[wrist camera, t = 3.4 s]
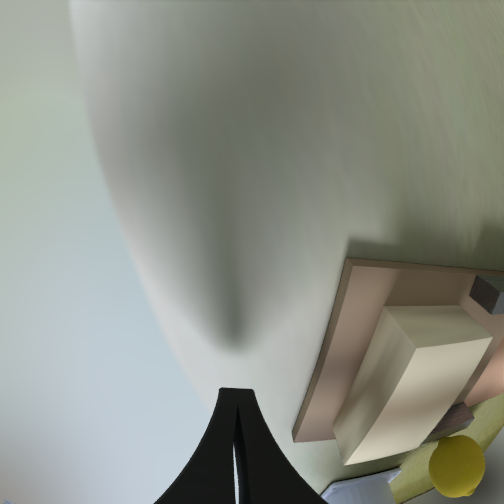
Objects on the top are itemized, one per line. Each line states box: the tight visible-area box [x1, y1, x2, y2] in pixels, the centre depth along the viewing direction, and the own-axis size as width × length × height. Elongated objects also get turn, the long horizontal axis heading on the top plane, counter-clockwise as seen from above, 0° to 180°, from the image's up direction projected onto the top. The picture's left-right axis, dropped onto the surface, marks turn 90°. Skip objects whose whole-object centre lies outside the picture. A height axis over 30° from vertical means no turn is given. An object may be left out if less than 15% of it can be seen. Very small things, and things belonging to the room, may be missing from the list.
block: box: [332, 305, 493, 465], centre depth 12 cm, size 8×5×3 cm, turn 174°
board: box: [292, 258, 504, 443], centre depth 14 cm, size 12×22×1 cm, turn 84°
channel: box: [420, 275, 504, 445], centre depth 13 cm, size 12×6×2 cm, turn 174°
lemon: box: [429, 435, 485, 497], centre depth 15 cm, size 6×6×8 cm
